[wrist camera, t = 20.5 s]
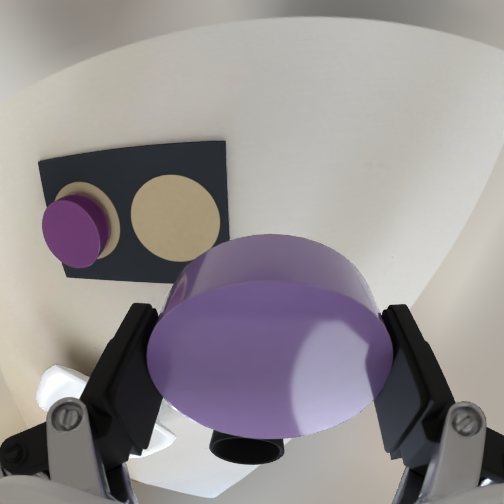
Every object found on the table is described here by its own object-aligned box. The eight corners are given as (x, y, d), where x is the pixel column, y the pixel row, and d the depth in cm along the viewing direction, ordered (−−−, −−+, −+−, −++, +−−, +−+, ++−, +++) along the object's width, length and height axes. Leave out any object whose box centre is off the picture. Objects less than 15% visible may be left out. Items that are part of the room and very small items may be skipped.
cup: (267, 340, 34) (263, 431, 24) (293, 376, 37) (295, 458, 27) (211, 358, 36) (194, 441, 26) (241, 391, 40) (233, 467, 29)
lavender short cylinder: (155, 225, 9) (116, 277, 7) (386, 226, 9) (425, 278, 6) (188, 376, 13) (174, 432, 10) (350, 377, 12) (361, 434, 10)
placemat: (40, 161, 25) (37, 162, 25) (225, 140, 24) (224, 141, 24) (68, 275, 32) (66, 277, 32) (231, 283, 31) (231, 286, 30)
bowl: (44, 383, 46) (32, 404, 41) (68, 327, 36) (49, 355, 31) (137, 440, 52) (130, 462, 47) (195, 407, 42) (189, 438, 37)
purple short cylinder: (51, 192, 27) (34, 202, 24) (106, 186, 26) (91, 197, 23) (66, 253, 30) (52, 267, 27) (119, 254, 30) (107, 270, 27)
